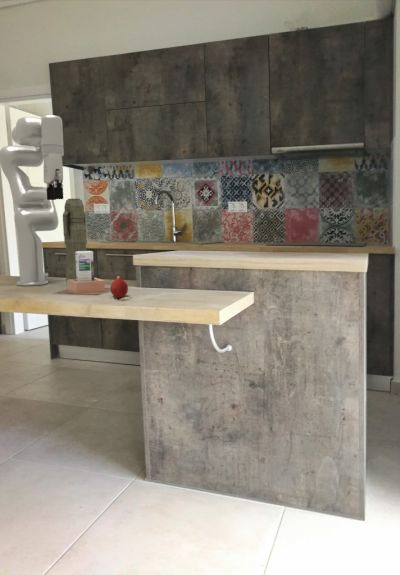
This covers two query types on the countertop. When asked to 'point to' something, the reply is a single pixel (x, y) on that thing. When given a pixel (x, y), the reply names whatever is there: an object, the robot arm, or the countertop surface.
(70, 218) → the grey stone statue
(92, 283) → the terracotta square tray
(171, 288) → the countertop surface
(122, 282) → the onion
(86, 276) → the syrup box
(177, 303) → the countertop surface
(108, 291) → the board
